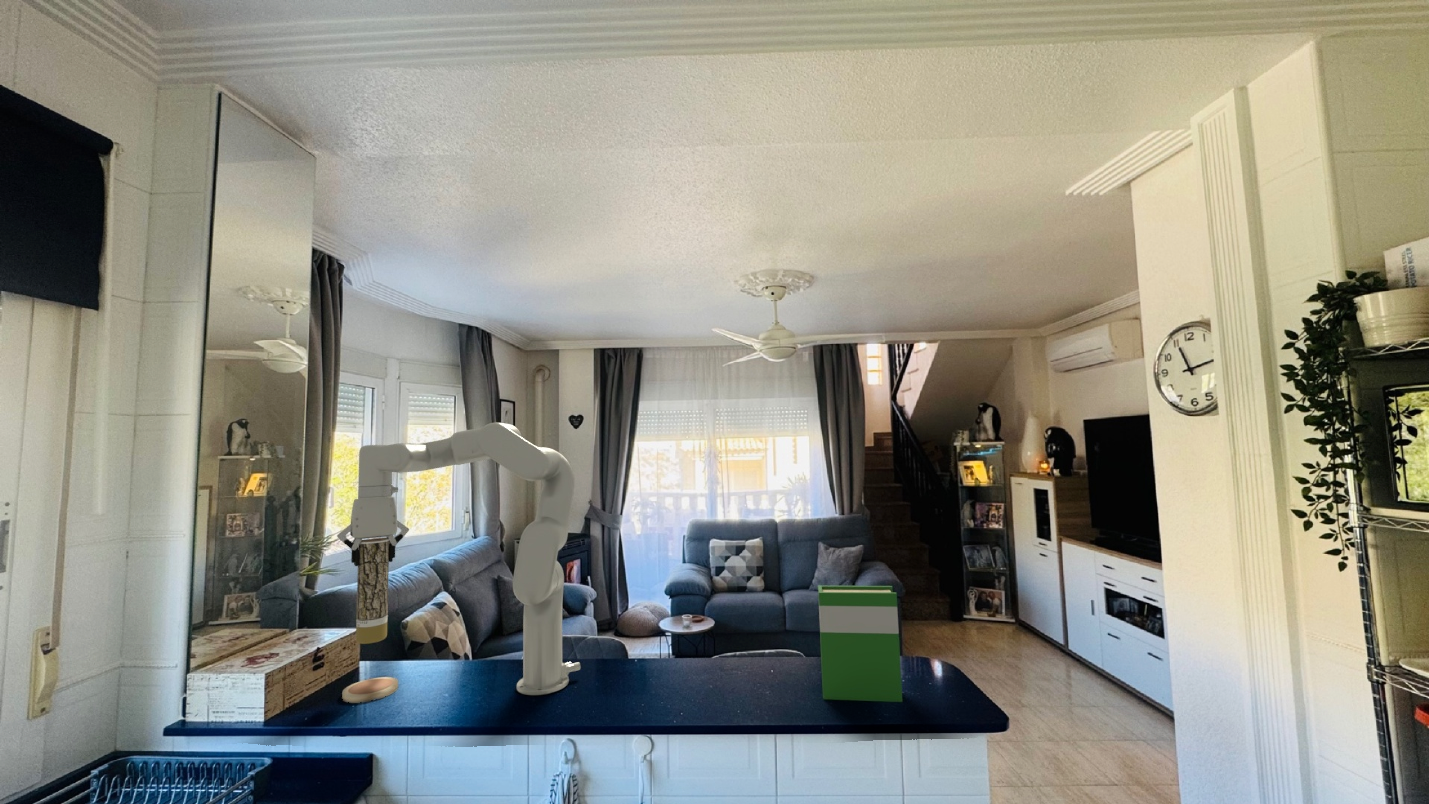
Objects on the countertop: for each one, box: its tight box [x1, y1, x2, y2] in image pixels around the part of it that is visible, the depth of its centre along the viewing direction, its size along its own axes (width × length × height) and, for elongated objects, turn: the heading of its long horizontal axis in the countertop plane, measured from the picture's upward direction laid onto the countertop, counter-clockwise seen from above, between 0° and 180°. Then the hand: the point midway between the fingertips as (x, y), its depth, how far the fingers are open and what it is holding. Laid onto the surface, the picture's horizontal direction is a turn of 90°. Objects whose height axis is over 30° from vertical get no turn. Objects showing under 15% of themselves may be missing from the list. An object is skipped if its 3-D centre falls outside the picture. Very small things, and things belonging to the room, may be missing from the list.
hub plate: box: [341, 676, 399, 704], centre depth 145 cm, size 12×12×2 cm
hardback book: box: [817, 585, 903, 703], centre depth 137 cm, size 18×7×24 cm, turn 81°
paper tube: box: [355, 537, 390, 645], centre depth 147 cm, size 7×7×25 cm
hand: (373, 562), depth 147 cm, fingers closed on paper tube, 6 cm apart
